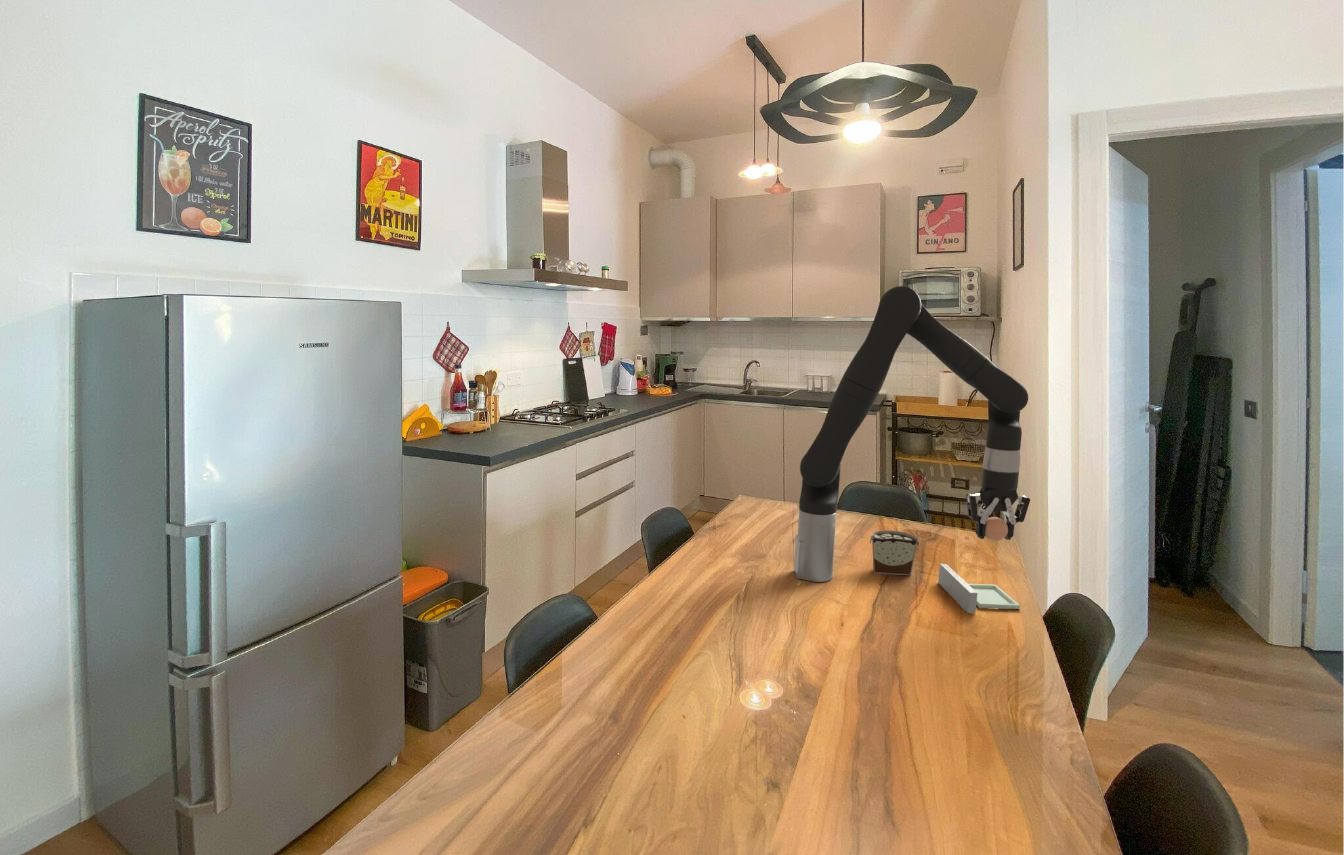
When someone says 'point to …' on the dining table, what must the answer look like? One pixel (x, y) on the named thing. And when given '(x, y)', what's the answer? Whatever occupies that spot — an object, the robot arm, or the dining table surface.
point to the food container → (893, 552)
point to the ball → (995, 529)
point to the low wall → (957, 588)
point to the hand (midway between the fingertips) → (993, 538)
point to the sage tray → (993, 597)
